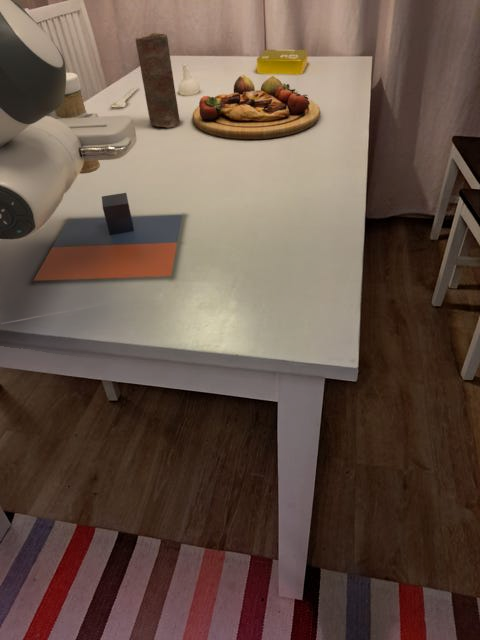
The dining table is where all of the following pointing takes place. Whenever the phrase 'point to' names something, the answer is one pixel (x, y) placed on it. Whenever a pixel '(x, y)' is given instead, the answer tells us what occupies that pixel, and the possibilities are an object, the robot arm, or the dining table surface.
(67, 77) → the sprinkles bottle
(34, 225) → the robot arm
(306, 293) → the dining table surface
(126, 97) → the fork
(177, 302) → the dining table surface
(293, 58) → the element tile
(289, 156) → the dining table surface
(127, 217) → the black block
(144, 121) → the dining table surface
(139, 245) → the sorting board
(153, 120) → the brown rough pillar
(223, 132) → the wooden plate
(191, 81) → the garlic bulb
